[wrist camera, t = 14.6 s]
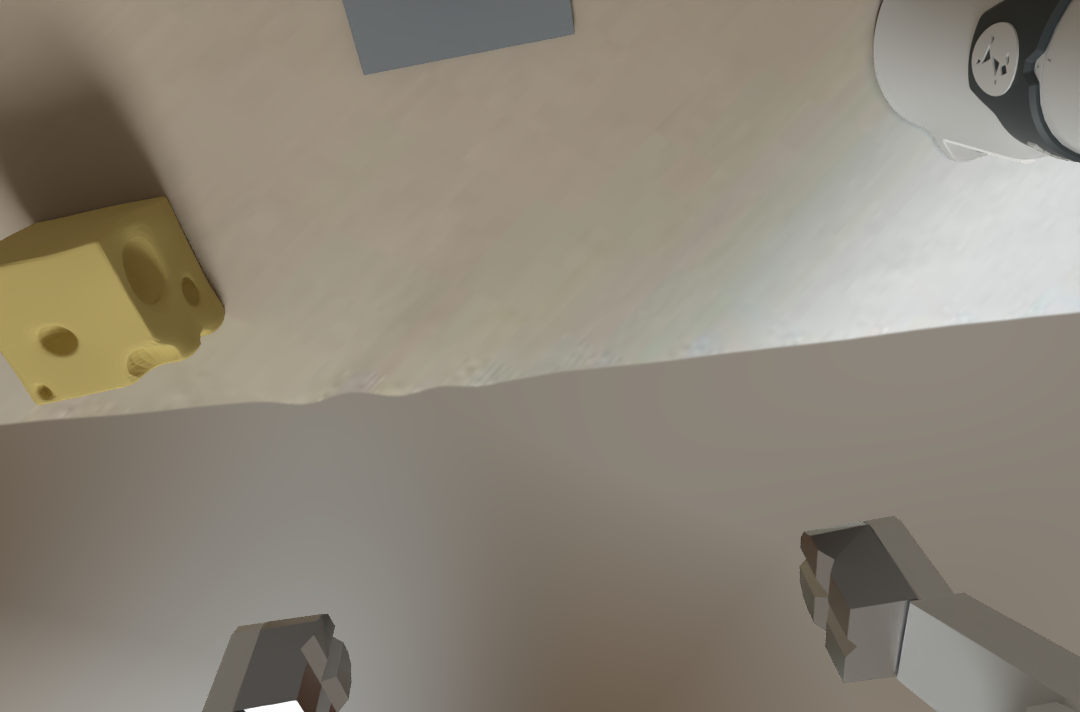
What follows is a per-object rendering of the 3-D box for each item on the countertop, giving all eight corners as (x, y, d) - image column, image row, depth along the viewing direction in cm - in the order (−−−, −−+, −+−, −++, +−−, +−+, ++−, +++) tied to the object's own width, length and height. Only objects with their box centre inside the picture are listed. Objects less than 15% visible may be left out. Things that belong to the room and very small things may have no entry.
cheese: (230, 313, 54) (181, 382, 45) (101, 340, 54) (27, 414, 45) (168, 185, 48) (98, 236, 40) (24, 216, 49) (-75, 274, 40)
